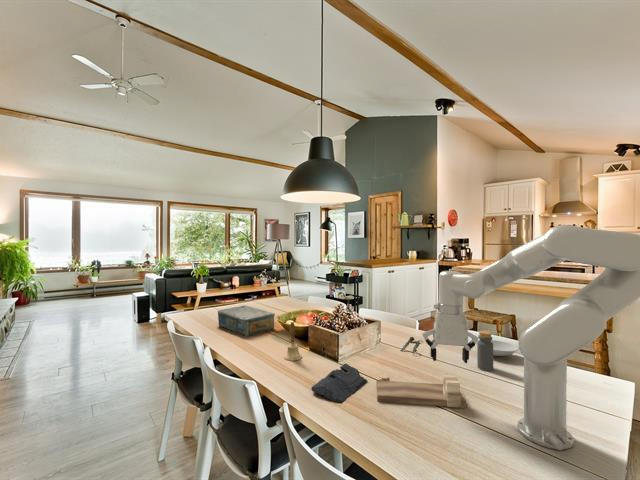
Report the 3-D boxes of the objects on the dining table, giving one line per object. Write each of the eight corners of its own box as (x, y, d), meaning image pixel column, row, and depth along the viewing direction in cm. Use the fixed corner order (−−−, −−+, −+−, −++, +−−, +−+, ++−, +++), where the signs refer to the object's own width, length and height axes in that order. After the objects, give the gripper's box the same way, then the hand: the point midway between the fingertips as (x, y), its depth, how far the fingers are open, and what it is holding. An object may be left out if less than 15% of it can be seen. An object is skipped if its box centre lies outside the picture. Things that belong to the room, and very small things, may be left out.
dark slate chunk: (304, 393, 111) (304, 380, 111) (336, 371, 129) (336, 359, 129) (341, 406, 102) (341, 392, 102) (370, 380, 120) (370, 368, 120)
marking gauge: (460, 407, 99) (460, 384, 99) (447, 406, 100) (447, 383, 100) (452, 391, 109) (452, 370, 109) (440, 390, 110) (440, 369, 110)
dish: (472, 356, 142) (472, 345, 142) (477, 347, 154) (477, 337, 154) (518, 365, 132) (518, 353, 132) (519, 354, 144) (519, 343, 144)
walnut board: (466, 407, 100) (466, 401, 100) (377, 401, 104) (377, 395, 104) (456, 390, 111) (456, 385, 111) (376, 385, 115) (376, 380, 115)
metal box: (245, 319, 210) (245, 304, 210) (276, 329, 187) (275, 312, 187) (216, 326, 195) (216, 310, 195) (245, 337, 172) (245, 319, 172)
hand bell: (283, 361, 139) (282, 325, 139) (284, 354, 147) (284, 320, 147) (301, 360, 139) (301, 324, 139) (302, 353, 147) (302, 319, 147)
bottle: (495, 371, 126) (495, 334, 126) (479, 370, 127) (479, 333, 127) (490, 365, 132) (490, 330, 132) (475, 364, 133) (475, 329, 133)
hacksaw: (410, 338, 168) (410, 336, 168) (430, 341, 163) (430, 339, 163) (397, 353, 147) (397, 350, 147) (420, 357, 142) (420, 354, 142)
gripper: (425, 310, 100) (424, 363, 101) (482, 313, 98) (481, 367, 98) (421, 305, 108) (420, 354, 108) (474, 307, 105) (473, 357, 105)
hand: (449, 360), depth 103 cm, fingers open, 9 cm apart
